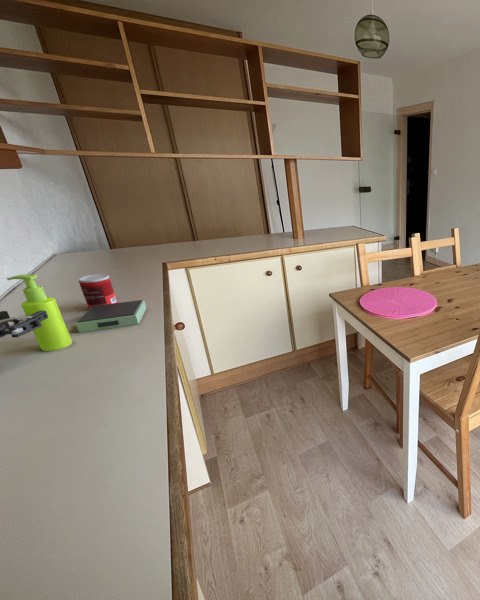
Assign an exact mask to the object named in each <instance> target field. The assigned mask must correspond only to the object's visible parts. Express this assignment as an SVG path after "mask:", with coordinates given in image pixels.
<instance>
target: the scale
mask: <svg viewBox="0 0 480 600" xmlns="http://www.w3.org/2000/svg"><path fill="white" fill-rule="evenodd" d="M146 310H147V305H146V302H145V300H142V299H139V300H130V301H122V302H117V303H113V304H105V305H96V306H92V307H90V309H89V308H88V310H86V311H85V313H84V314H83V315H82V316H81V317H80V318H79V319H78V320H77V321H76V322H75V326H76V328H77V331H78V333H87V332H93V331H100V330H108V329H114V328H120V327H121V328H122V327H127V326H133V325H139V324H140V322H141V320H142V318H143V316H144V314H145V312H146Z"/></svg>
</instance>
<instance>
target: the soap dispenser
mask: <svg viewBox="0 0 480 600" xmlns="http://www.w3.org/2000/svg"><path fill="white" fill-rule="evenodd" d="M37 278H39V276H38V275H37V274H17V275H14V276H10V277H7V278H6V280H8V281H13V280H23V282H24V284H25V286H26V287H25V288H23V290H22V292H23V294H24V297H25V299H26V300H25V301H23V302H22V303H21V304H20V305H21V308H22V310H23V313H24V314H25V317H26V316H29V315H31V314H34V313H36V312H38V311H41V310H45V311H46V313H47V315H48V318H47V319H45V320H43V321H40V323H41V325H42V327H39V328H37V329H35V330H33V331H32V332H33V334H34V337H35V339H36V341H37V344H38V345H39V347H40V350H41V351H43V352H52V351H53V352H54V351H57V350H61V349H64V348H66V347H69V346H70V345H71V344H73V340H72V338H71V335H70V332H69V330H68V327H67V325H66V323H65V320H64V318H63V315H62V313H61V311H60V308H59V305H58V302H57V300H56V298H55V297H51V296H47V295H46V292H45V289H44V287H43V286H41V285H37V283H36V280H35V279H37Z"/></svg>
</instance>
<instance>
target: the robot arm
mask: <svg viewBox="0 0 480 600" xmlns="http://www.w3.org/2000/svg"><path fill="white" fill-rule="evenodd" d="M47 318H48V315H47V313H46V311H45V310H41V311H38V312H36V313H34V314H31V315H29V316H26V315H25V316H22V317H14V316H13V317H10V315H9V312H8V311H7V310H0V339H3V338H5V337H6V336H10V335H11V337H12V338H14V339H15V338H19V337H21V336H24V335H26V334H29V333H31V332H33V330H35V329H37V328H39V327H42V325H41V323H40V321H43V320H45V319H47ZM9 323H12V324H11V325H10V324H9Z"/></svg>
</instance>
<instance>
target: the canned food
mask: <svg viewBox="0 0 480 600" xmlns="http://www.w3.org/2000/svg"><path fill="white" fill-rule="evenodd" d="M77 281H78V284H79V286H80V289H81V292H82V294H83V297H84V301H85V303H86V306H87V308H88V310H89V309H90V307H92V306H96V305H105V304H113V303H118V300H117V297H116V294H115V291H114V286H113V285H112V281H111V278H110V276H109V275H108V274H107V273H99V274H89V275H85V276H82V277H79V278H78V280H77Z"/></svg>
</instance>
